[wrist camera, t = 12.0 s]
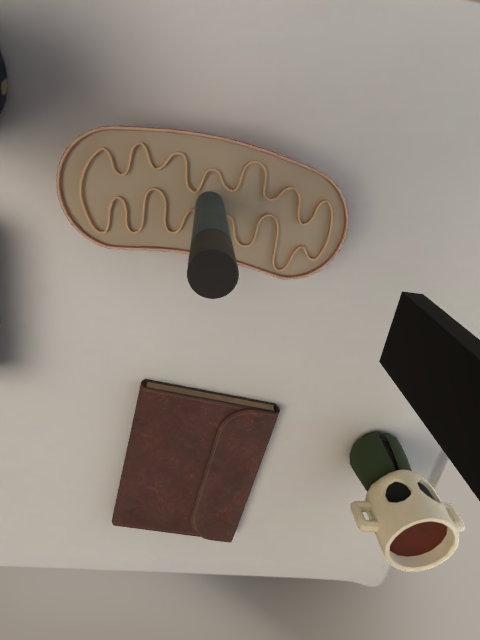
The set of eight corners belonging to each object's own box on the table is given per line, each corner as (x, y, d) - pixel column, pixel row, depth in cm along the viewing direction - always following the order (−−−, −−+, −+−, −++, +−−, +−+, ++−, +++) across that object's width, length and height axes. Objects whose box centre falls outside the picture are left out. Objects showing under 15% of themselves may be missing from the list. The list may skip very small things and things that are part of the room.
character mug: (424, 427, 51) (490, 519, 39) (409, 474, 54) (466, 572, 42) (334, 424, 50) (373, 517, 38) (323, 472, 53) (357, 572, 41)
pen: (190, 200, 34) (177, 266, 18) (214, 185, 34) (222, 240, 18) (204, 225, 35) (204, 307, 19) (229, 211, 34) (247, 283, 19)
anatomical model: (71, 225, 39) (53, 239, 34) (77, 103, 35) (58, 100, 30) (317, 270, 42) (330, 288, 38) (347, 163, 38) (366, 168, 34)
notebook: (113, 514, 53) (110, 527, 52) (142, 378, 46) (139, 389, 44) (232, 529, 56) (233, 543, 54) (278, 404, 48) (281, 415, 47)
